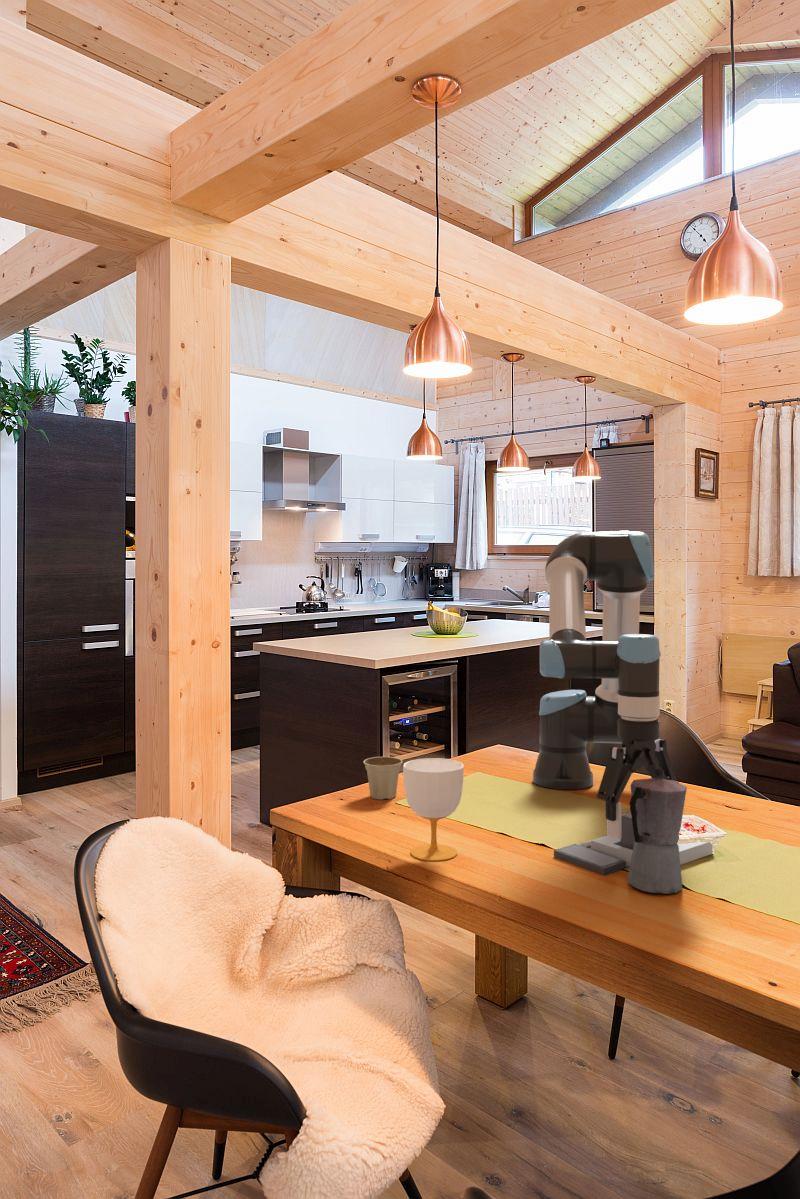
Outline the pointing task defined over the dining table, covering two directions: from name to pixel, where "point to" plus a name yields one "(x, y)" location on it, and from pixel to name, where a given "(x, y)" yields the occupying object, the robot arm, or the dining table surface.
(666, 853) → the moka pot
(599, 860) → the phone
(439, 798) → the cup
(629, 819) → the charger block
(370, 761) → the flower pot
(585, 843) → the cable
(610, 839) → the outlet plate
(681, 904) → the dining table surface
